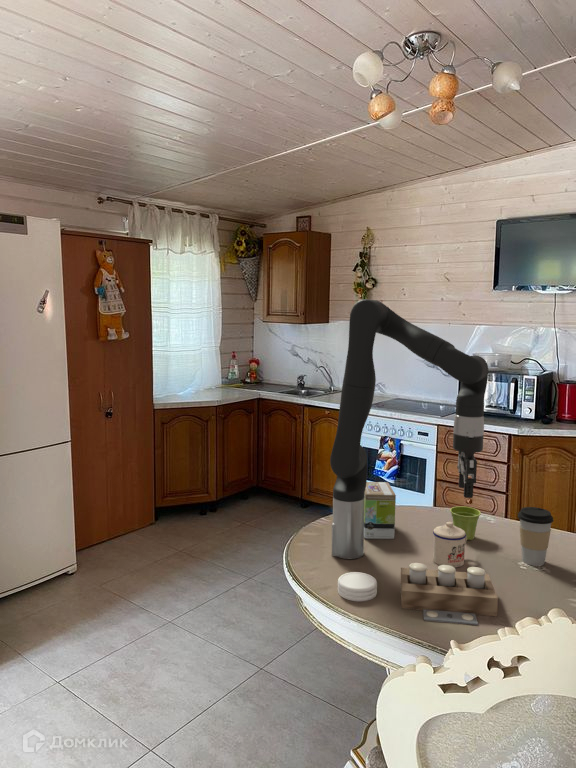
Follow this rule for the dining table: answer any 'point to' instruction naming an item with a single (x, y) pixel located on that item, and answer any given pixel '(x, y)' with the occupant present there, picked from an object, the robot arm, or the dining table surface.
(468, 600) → the button board
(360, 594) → the coaster
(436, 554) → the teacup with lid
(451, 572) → the middle button
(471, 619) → the card
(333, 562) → the dining table surface
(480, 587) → the right button
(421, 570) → the left button
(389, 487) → the tea box
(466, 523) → the plant pot
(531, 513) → the coffee cup
